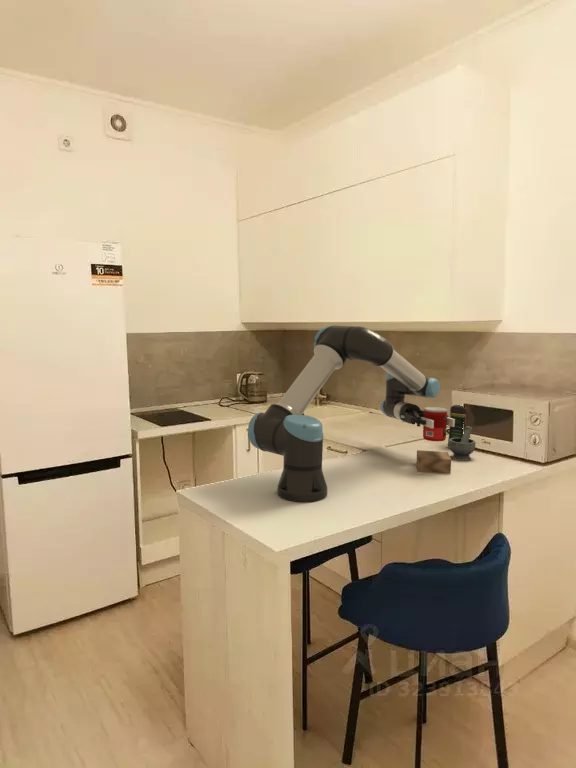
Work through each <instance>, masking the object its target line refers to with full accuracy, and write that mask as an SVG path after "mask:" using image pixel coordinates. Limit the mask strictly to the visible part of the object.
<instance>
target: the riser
mask: <svg viewBox="0 0 576 768" xmlns="http://www.w3.org/2000/svg"><path fill="white" fill-rule="evenodd" d="M415 463H416V468H417V472H419V473H435V474H436V473H438V474H449V473H450V474H451V472H452V459H451V456H450V453H449V452H448V451H440V450H439V451H437V450H435V451H434V450H419V449H417V450H416V462H415Z"/></svg>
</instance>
